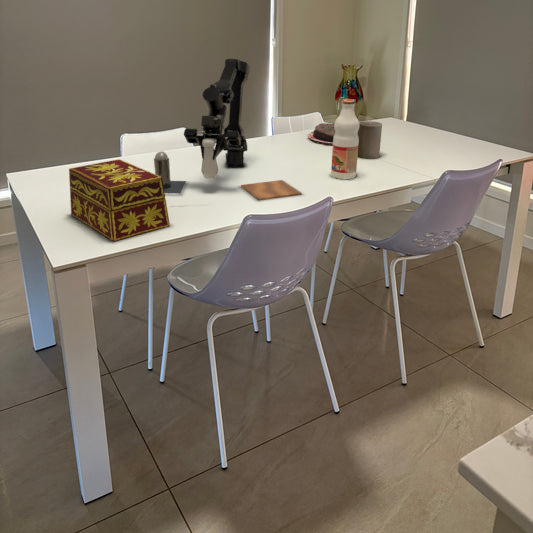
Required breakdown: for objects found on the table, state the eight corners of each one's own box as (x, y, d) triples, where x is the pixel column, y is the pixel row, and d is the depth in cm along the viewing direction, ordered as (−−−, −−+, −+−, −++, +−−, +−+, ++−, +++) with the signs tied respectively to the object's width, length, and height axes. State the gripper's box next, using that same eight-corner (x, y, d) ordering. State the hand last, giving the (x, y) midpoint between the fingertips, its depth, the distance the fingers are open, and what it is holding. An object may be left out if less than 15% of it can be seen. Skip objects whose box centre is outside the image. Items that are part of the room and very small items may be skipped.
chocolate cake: (371, 146, 263) (373, 132, 260) (309, 146, 263) (310, 131, 260) (363, 132, 288) (364, 119, 285) (306, 131, 288) (306, 118, 285)
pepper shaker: (170, 184, 209) (168, 149, 204) (170, 188, 204) (168, 153, 199) (156, 184, 208) (153, 150, 203) (155, 189, 204) (153, 154, 198)
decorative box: (70, 214, 182) (63, 167, 175) (124, 202, 193) (120, 157, 186) (113, 241, 163) (107, 190, 157) (170, 226, 174) (167, 177, 168)
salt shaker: (201, 174, 203) (200, 137, 197) (218, 174, 203) (217, 136, 197) (201, 179, 197) (199, 141, 192) (218, 179, 198) (217, 141, 192)
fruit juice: (357, 179, 218) (363, 102, 206) (332, 179, 218) (336, 102, 206) (354, 172, 226) (360, 97, 214) (329, 172, 226) (334, 97, 214)
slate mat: (186, 182, 213) (186, 181, 212) (180, 195, 200) (180, 193, 200) (147, 181, 213) (147, 180, 213) (139, 194, 200) (139, 192, 200)
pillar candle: (353, 157, 246) (356, 121, 240) (359, 152, 254) (362, 116, 248) (376, 160, 243) (380, 123, 236) (381, 154, 251) (385, 118, 244)
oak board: (281, 181, 215) (281, 180, 215) (301, 194, 202) (301, 192, 201) (241, 186, 209) (240, 185, 209) (258, 200, 196) (258, 198, 196)
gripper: (183, 103, 195) (174, 144, 190) (238, 106, 192) (230, 148, 187) (192, 122, 205) (183, 161, 201) (244, 125, 202) (236, 165, 197)
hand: (208, 159), depth 196 cm, fingers closed on salt shaker, 3 cm apart
